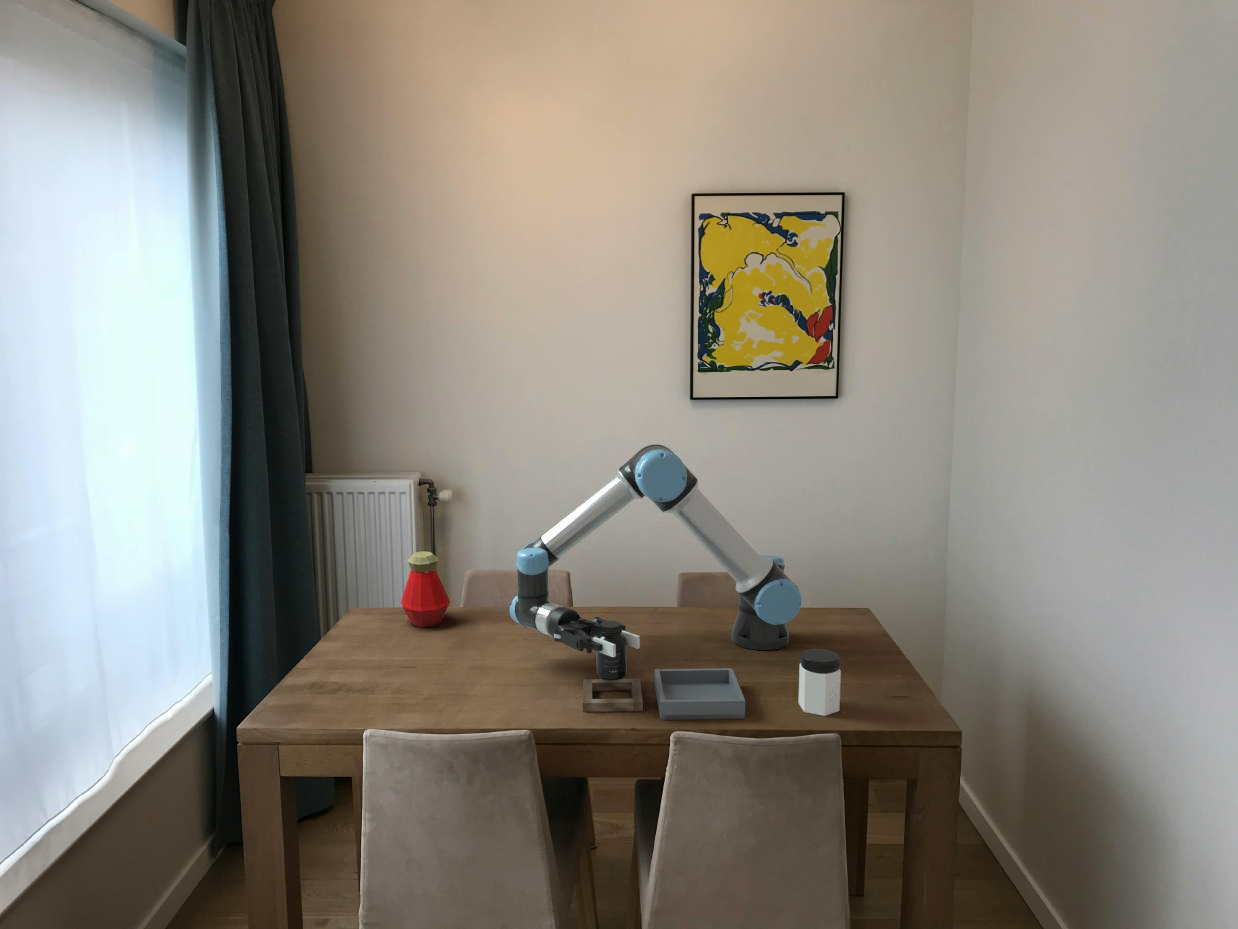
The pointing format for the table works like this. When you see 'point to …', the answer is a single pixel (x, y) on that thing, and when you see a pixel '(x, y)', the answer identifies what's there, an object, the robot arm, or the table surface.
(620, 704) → the socket collar
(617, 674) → the supplement bottle
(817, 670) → the jar
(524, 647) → the table surface
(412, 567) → the bottle
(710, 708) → the bin
